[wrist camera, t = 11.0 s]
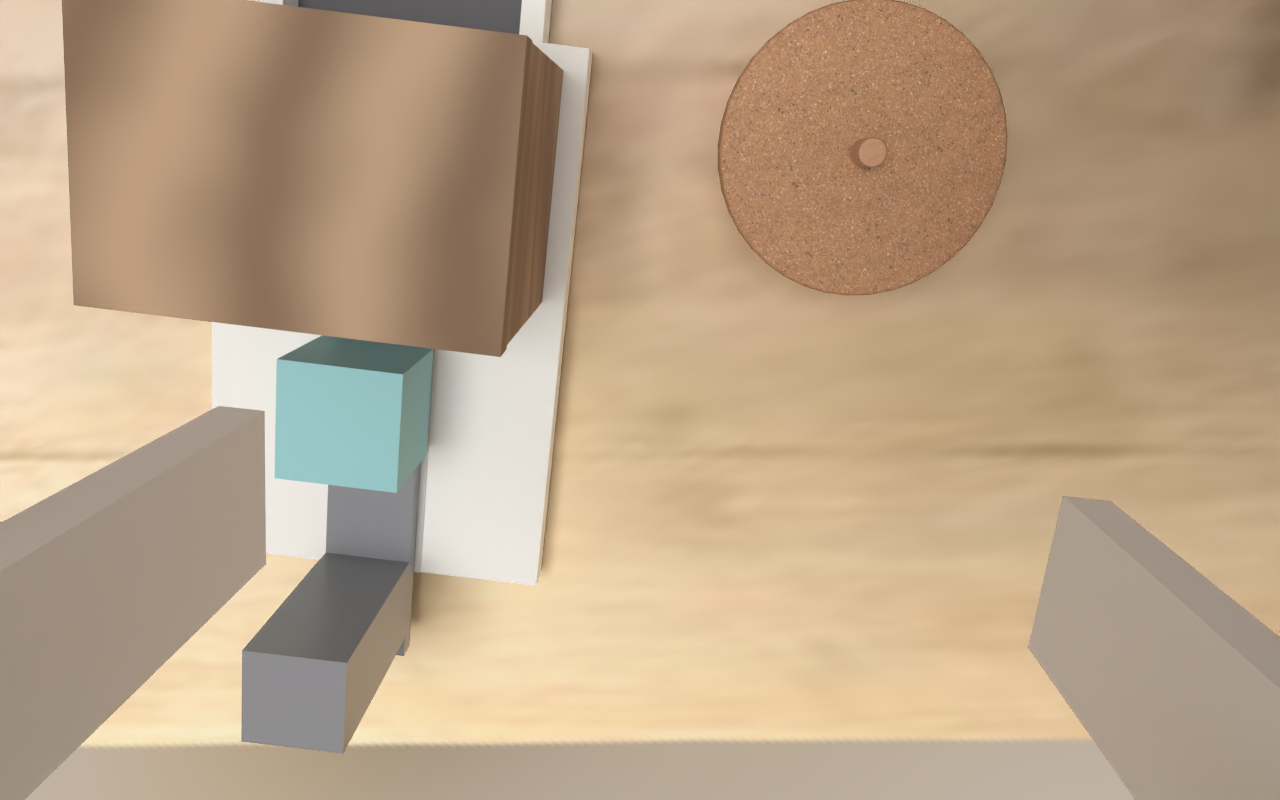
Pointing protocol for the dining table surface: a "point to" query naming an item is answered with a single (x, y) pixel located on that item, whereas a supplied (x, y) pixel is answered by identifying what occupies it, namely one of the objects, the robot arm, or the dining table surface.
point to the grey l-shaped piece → (336, 625)
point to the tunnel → (309, 170)
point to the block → (352, 413)
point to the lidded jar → (862, 146)
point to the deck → (451, 366)
